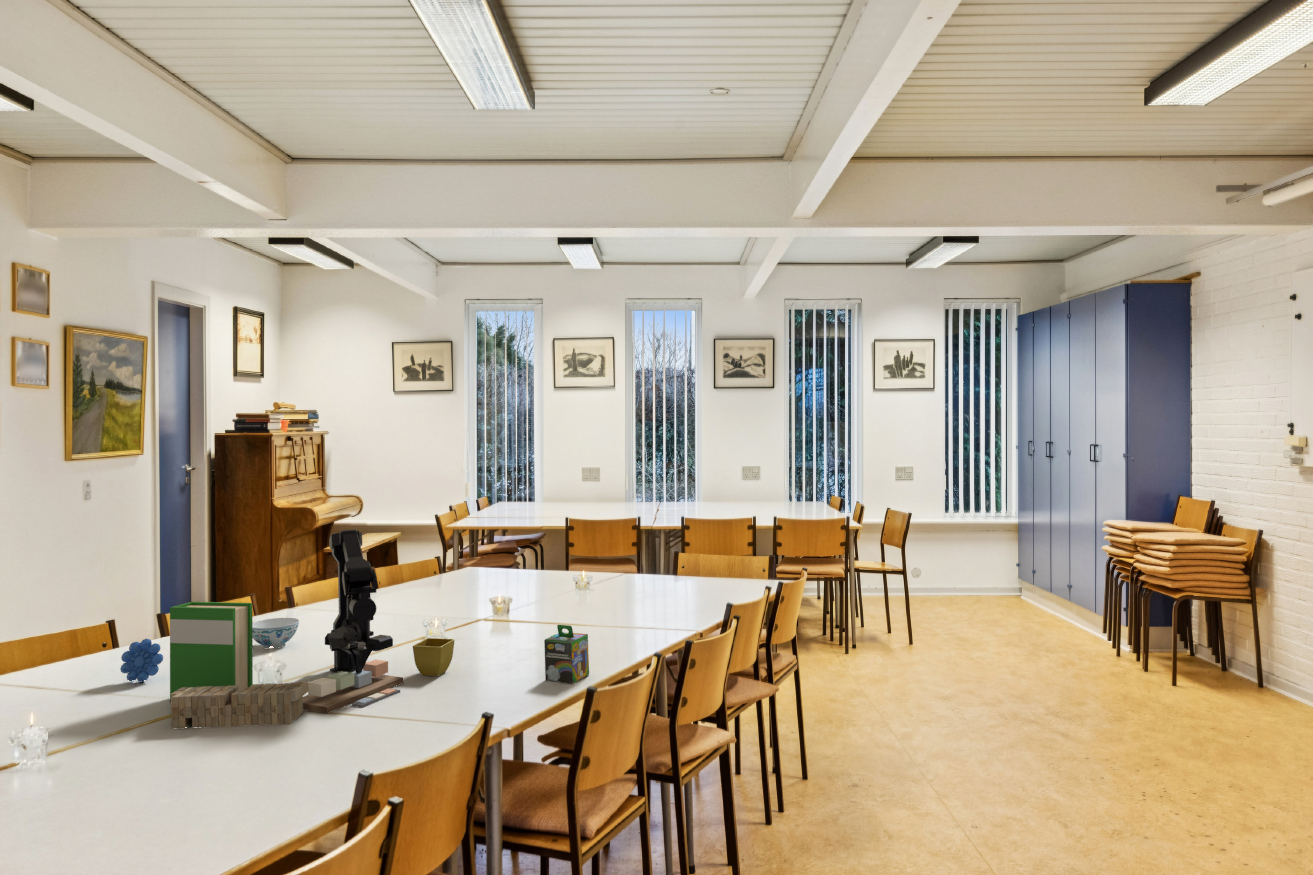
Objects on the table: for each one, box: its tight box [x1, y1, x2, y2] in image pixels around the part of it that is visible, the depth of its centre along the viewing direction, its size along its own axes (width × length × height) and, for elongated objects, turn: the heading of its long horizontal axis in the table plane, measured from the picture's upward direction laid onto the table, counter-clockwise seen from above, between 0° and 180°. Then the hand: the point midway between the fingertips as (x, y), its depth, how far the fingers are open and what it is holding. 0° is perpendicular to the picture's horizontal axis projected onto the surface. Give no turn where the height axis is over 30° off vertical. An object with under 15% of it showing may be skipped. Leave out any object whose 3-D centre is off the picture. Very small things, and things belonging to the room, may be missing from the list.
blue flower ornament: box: [119, 638, 164, 682], centre depth 214 cm, size 12×7×12 cm, turn 89°
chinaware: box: [252, 617, 300, 649], centre depth 251 cm, size 15×15×8 cm
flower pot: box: [412, 637, 455, 677], centre depth 218 cm, size 9×9×9 cm
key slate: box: [350, 670, 372, 688], centre depth 203 cm, size 4×4×3 cm
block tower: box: [170, 680, 309, 729], centre depth 181 cm, size 8×8×29 cm
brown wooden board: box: [303, 674, 404, 714], centre depth 200 cm, size 12×26×2 cm, turn 156°
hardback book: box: [169, 601, 254, 701], centre depth 198 cm, size 18×7×24 cm, turn 81°
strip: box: [351, 688, 401, 708], centre depth 196 cm, size 4×13×1 cm, turn 156°
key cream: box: [307, 677, 336, 697], centre depth 192 cm, size 4×4×3 cm
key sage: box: [326, 671, 354, 690], centre depth 197 cm, size 4×4×3 cm
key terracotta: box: [363, 659, 389, 677], centre depth 208 cm, size 4×4×3 cm
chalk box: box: [543, 624, 590, 685], centre depth 212 cm, size 9×9×15 cm
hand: (358, 672), depth 203 cm, fingers closed, pressing on key slate
